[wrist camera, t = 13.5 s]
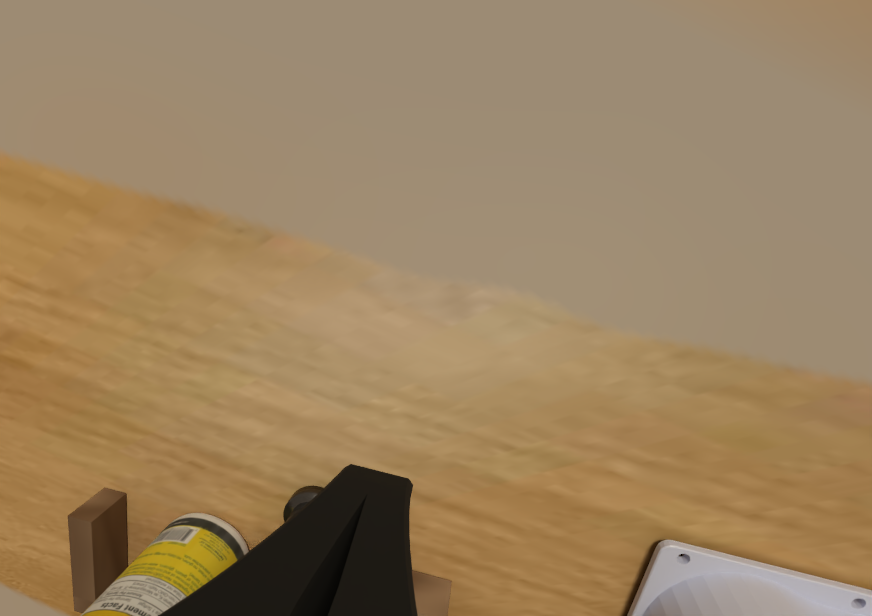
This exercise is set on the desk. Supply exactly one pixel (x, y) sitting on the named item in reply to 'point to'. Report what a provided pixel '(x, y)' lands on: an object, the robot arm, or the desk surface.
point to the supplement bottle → (172, 567)
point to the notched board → (107, 559)
